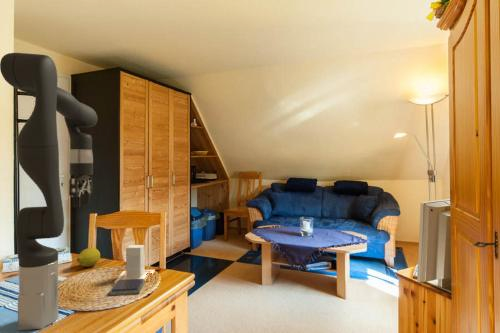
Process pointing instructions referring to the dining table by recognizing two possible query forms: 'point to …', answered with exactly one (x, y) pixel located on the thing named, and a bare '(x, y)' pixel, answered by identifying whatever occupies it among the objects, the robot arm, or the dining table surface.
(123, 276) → the paper sheet
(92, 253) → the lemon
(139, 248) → the skincare box
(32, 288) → the robot arm
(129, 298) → the dining table surface
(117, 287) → the pad
